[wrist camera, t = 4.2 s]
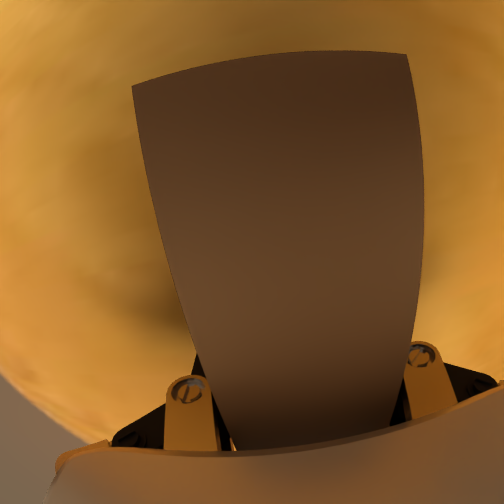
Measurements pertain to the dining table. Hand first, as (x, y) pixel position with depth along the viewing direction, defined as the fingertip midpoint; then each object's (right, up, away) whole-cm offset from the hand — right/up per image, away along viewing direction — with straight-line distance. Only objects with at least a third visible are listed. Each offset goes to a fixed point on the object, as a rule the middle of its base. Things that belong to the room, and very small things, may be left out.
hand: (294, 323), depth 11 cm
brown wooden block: (0, 0, 0) cm, 0 cm away
